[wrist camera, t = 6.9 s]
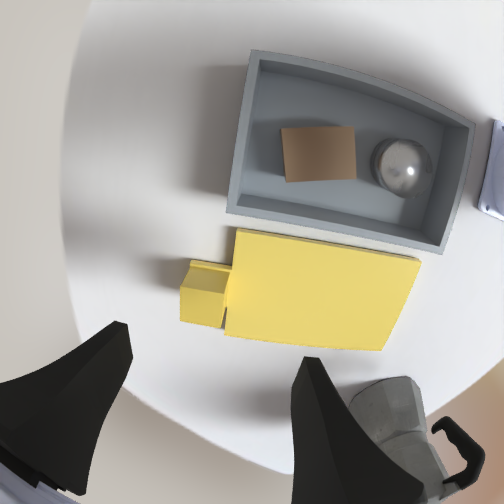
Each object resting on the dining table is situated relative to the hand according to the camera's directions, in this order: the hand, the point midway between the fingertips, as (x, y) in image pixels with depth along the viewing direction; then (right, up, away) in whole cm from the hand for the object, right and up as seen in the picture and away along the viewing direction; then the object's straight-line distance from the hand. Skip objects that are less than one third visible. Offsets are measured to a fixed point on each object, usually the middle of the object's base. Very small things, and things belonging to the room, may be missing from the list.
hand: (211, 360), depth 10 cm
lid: (+6, +1, +11) cm, 12 cm away
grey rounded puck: (+11, +10, +6) cm, 16 cm away
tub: (+8, +11, +6) cm, 15 cm away
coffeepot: (+17, -12, +16) cm, 26 cm away
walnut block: (+5, +10, +6) cm, 13 cm away
